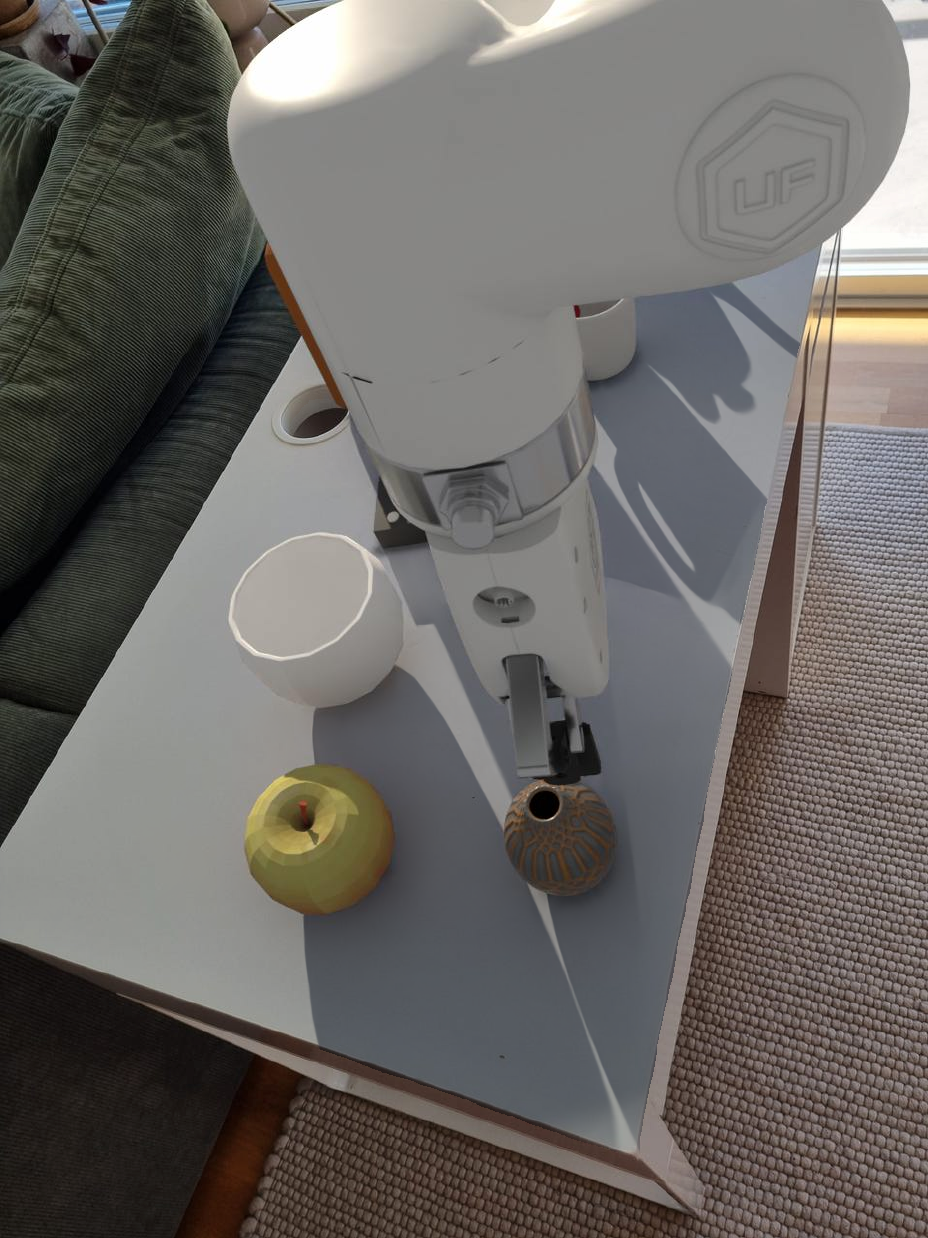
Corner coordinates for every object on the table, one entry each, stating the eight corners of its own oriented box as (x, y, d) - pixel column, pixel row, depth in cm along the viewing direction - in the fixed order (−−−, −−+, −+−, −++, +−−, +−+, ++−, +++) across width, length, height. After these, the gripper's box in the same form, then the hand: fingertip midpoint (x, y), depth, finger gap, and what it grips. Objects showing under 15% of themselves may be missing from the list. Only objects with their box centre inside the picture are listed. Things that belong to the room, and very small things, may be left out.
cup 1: (436, 597, 76) (398, 522, 68) (406, 735, 69) (360, 670, 62) (299, 598, 80) (248, 527, 72) (258, 729, 73) (198, 668, 65)
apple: (409, 784, 67) (371, 734, 61) (407, 921, 62) (365, 882, 55) (282, 800, 69) (232, 754, 63) (269, 935, 64) (213, 899, 57)
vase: (605, 792, 63) (584, 734, 56) (637, 890, 59) (619, 841, 52) (507, 823, 63) (474, 770, 56) (532, 922, 59) (501, 878, 52)
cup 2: (608, 421, 81) (594, 350, 75) (528, 405, 85) (509, 336, 79) (658, 337, 85) (649, 263, 79) (580, 325, 89) (565, 253, 83)
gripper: (607, 627, 26) (658, 847, 39) (580, 243, 35) (629, 527, 49) (348, 657, 27) (484, 858, 41) (390, 282, 37) (489, 547, 51)
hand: (563, 678), depth 45 cm, fingers open, 9 cm apart
